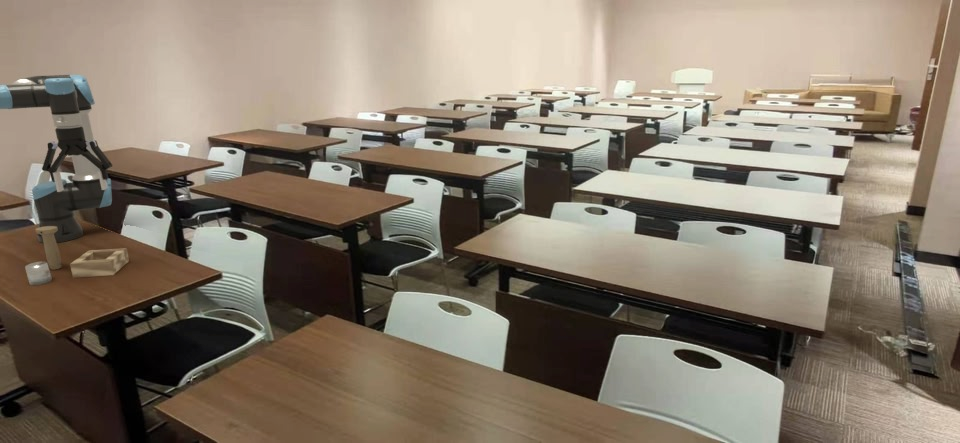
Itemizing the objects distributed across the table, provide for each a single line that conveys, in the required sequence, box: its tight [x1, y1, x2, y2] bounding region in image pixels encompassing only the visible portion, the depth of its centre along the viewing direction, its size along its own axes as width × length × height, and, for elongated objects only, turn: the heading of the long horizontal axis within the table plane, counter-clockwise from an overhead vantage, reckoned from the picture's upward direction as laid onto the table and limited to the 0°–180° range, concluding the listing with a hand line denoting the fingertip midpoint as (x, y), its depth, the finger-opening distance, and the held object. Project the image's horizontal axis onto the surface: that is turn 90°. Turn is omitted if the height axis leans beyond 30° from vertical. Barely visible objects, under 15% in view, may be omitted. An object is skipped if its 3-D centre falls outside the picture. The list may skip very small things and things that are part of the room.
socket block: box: [69, 247, 130, 279], centre depth 199 cm, size 14×12×5 cm
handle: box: [35, 226, 63, 271], centre depth 199 cm, size 5×6×15 cm
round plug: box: [24, 261, 53, 286], centre depth 189 cm, size 6×6×6 cm
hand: (82, 190), depth 191 cm, fingers open, 13 cm apart
